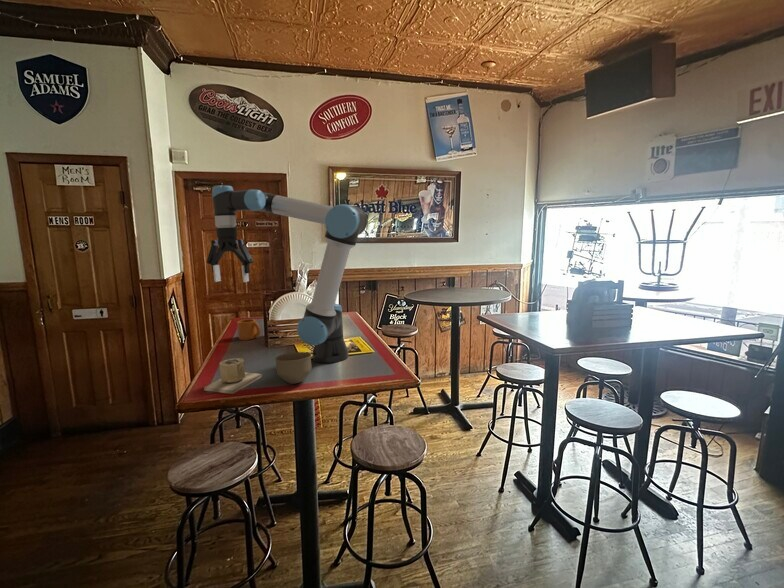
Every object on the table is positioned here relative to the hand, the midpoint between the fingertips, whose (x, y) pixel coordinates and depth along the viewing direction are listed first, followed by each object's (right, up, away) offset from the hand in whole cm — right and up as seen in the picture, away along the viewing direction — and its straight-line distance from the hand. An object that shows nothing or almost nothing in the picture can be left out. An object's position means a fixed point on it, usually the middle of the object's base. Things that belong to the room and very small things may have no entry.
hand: (231, 281), depth 162 cm
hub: (+6, -37, -14) cm, 40 cm away
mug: (-10, -28, +48) cm, 57 cm away
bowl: (+28, -37, -14) cm, 48 cm away
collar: (+6, -35, -14) cm, 38 cm away
